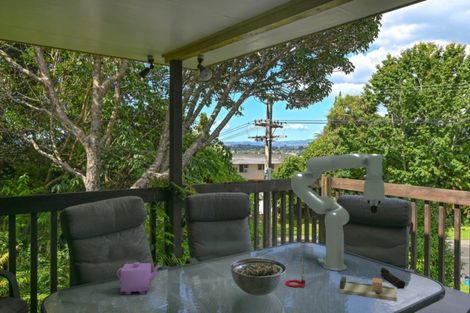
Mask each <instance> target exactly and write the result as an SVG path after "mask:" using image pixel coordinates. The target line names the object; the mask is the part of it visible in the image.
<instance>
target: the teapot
mask: <svg viewBox="0 0 470 313" xmlns="http://www.w3.org/2000/svg"><path fill="white" fill-rule="evenodd" d="M161 267H163V264H161V265H159V264H157V265H156V266H154V268H153V271H152V263H150V262H147V263H146V262H142V263H140V262H138V261H137V262H133V263H125V264H124V265H123V266H122V267H120V268H119V269H118V270H117V271H116V275H117V277H118V278H119V281H118V284H119V286H120V293H125V295H131V294H132V292H133V293H134V292H138V293H139V294H140V295H143V294H146V292H149V290H150V286H151V283H152V281H153V280H154V279H155V278H156V275H157V272H158V269H160V268H161Z"/></svg>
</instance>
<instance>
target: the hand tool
mask: <svg viewBox="0 0 470 313" xmlns="http://www.w3.org/2000/svg"><path fill="white" fill-rule="evenodd" d="M380 275H381V277H382V279H384V280H388V281H389V282H390V283H391V284H393V285H394V286H396V289H401V290H402V289H405V286H406V282H405V281H404V280H403V279H400V278H399V277H398V276H395V275H394V274H393V273H391V272H390V270H389V269H387V268H385V267H381V269H380Z"/></svg>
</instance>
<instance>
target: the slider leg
mask: <svg viewBox="0 0 470 313" xmlns="http://www.w3.org/2000/svg"><path fill="white" fill-rule="evenodd" d="M371 284H372V291H376V293H378V292H382V286H383V278H377V277H372V283H371Z"/></svg>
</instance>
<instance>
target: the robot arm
mask: <svg viewBox="0 0 470 313" xmlns="http://www.w3.org/2000/svg"><path fill="white" fill-rule="evenodd" d="M305 166H306V170H305V171H300V172H297V173H295V174H292V175H293V176H292V177H291V179H290V185H291V186H290V187H291V190H292V191H293V193H294V194H295V195H296V196H297V197H298V198H299V199H300V200H302V202H304V204H306V205H307V206H308V207H309V208H310V210H311V209H312V211H313V212H315V213H316V214H317V215H323V214H325V217H324V226H325V257H324V258H322V257H317V262H318V263H322V268H324V269H326V270H329V271H333V272H334V271H336V272H339V271H340V272H341V271H345V270H346V269H347V265H346V264H344V259H345V258H344V257H345V256H344V254H345V253H344V252H345V246H344V245H345V243H344V242H345V240H344V239H345V237H344V236H345V234H344V233H345V232H344V227H343V226H344V225H346V224H347V223H348V222H349V220H350V214H349V212H348V211H347V210H346V208H344V207H343V206H342V205H340V204H339V203H338V201H336V200H334V198H332V197H330V196H326V195H324V196H321V195H319V194H318V193H317V192H316V191H315V190H314V189H312V188H310V187H309V186H311V185H313V184H314V183H315V182H316V181H317V179H319V178H320V176H321V175H322V174H323V173H324V172H333V171H338V170H343V169H345V170H346V169H358V168H366V174H364V175H363V178H364V179H365V180H364V184H363V197H362V201H363V202H365V203H367V204H369V206H370V212H371V214H376V213H377V212H378V206H379V204H382V203H385V202H386V200H385V198H386V193H385V182H384V180H383V155H382V154H380V153H369V154H368V153H367V154H366V153H360V152H359V153H357V152H355V153H346V154H334V155H333V154H331V155H324V156H323V155H322V156H314V157H310V158H309V159H307V161H306V164H305ZM373 201H375V202H374V203H375V204H374V203H373Z"/></svg>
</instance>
